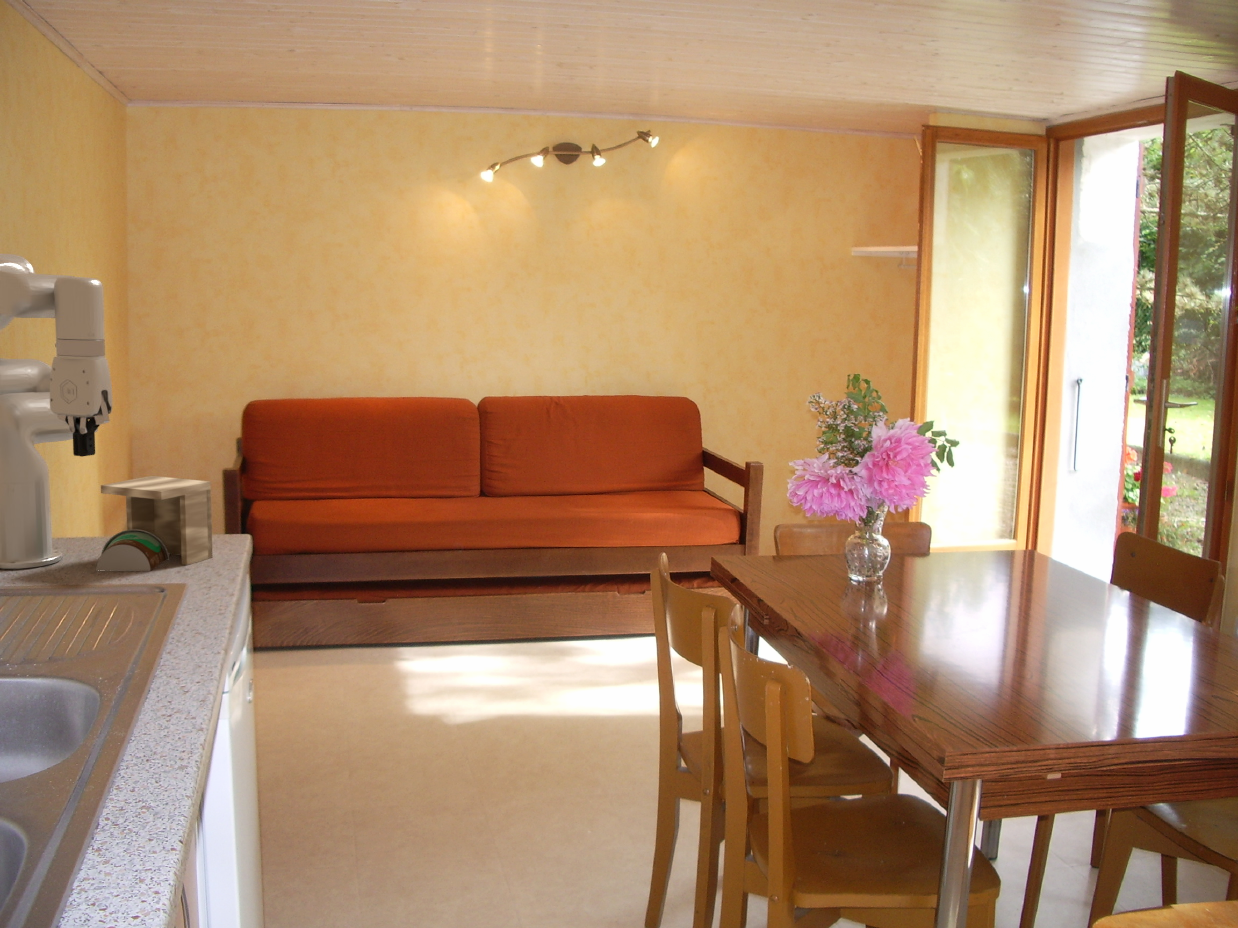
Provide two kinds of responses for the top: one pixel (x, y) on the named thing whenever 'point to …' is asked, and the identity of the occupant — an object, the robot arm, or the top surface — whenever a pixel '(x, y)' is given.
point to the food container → (132, 552)
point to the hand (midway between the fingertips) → (84, 455)
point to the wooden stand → (170, 513)
